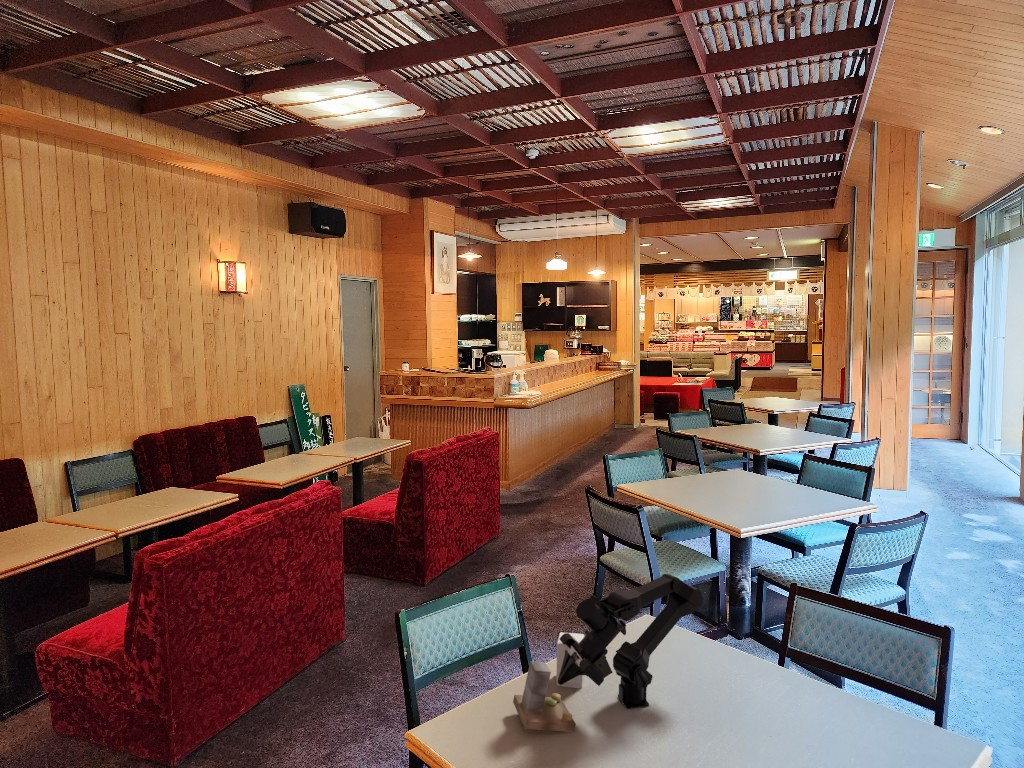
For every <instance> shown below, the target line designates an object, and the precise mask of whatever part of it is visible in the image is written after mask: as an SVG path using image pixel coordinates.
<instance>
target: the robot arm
mask: <svg viewBox="0 0 1024 768" xmlns="http://www.w3.org/2000/svg"><path fill="white" fill-rule="evenodd" d="M665 596H667V604H666V605H665V607H663V609H662V610H661V611H660V612H659V613H658V615H657V616H656V617H655V618H654V619H653V621H652V622H651V623H650V625H648V627H646V629H645V630H644V631H643V633H641V635H640V636H639V637H638V638H637V639H636V640H635V642H632V643H631V642H628V641H627V640H626V641H624V642H623V643H622V644H621V646H620V647H619V648H618V649H617V650H615V654H614V656H613V659H612V667H613V670H614V671H615V674H616V675H617V676H619V677H620V683H619V684H618V694H617V698H618V699H619V700H620V702H621V703H622V704H623V706H624V707H625V709H628V710H630V709H637V708H644V707H649V706H650V703H649V701H648V700H647V688H648V685H650V684H651V683H652V681H653V675H652V673H650V672H649V671H648V669H649V663H650V658H651V657H650V656H651V655H652V654H653V652H654V651H655V650H656V649H657V648H658V646H659V645H660V644H661V643H662V641H663V640H664V639H665V638H666V636H667V635H668V634H669V633H670V632H671V630H672V629H674V627H675V626H676V624H678V622H679V621H680V620H681V619H682V618H684V617H686V616H690V615H691V614H693V613H694V612H696V610H697V609H699V608H700V607H701V605H702V603H703V601H704V600H703V599H704V597H703V593H702V591H701V589H699V588H696V587H694V586H692V585H689V584H687V583H685V582H684V581H682V580H681V578H679V577H677V576H675V575H672V574H670V573H663V574H661V576H660V577H658V578H655V579H653V580H651V581H648V582H647V583H645V584H643V585H640V586H638V587H636V588H634V589H621V590H620V589H619V590H616V591H612V592H611V593H610V594H609V595H608V596H606V597H604V598H602V599H599V598H598V597H597V596H596V595H593V594H592V595H590V597H589V598H586V599H584V600H582V601H581V602H579V604H578V605H577V607H576V610H575V611H576V612H575V613H576V617H577V618H578V619H579V620H581V622H583V623H584V624H585V625H586V626H587V627H588V628H590V630H588V629H585V630H584V632H583V633H584V638H583V639H582V640H581V641H580V642H578V641H577V640H575V639H574V638H573V637H572V636H571V635H570V634H569V633H570V632H564V633H565V634H563V635H562V636H561V637H560V640H561V642H562V643H563V644H565V645H567V646H568V647H569V648H570V649H569V650H568V651H566V650H565V655H564V660H563V664H562V667H561V671H560V674H559V677H558V681H557V680H556V681H557V682H558V683H559V684H560V685H562V684H564V683H566V682H568V681H569V680H571V679H573V678H575V677H577V676H579V675H584V676H586V677H587V678H589V679H590V680H591V681H592V682H594V683H595V684H596V685H597V686H598V687H600V686H601V685H602V684H603V683H604V681H605V678H606V677H608V676H610V675H611V674H613V670H612V668H611V666H610V664H609V661H608V659H607V656H606V655H607V654H608V651H609V650H608V649H607V647H608V646H609V645H610V644H611V643H612V642H613V641H614V639H615V638H616V637H617V636H618V635H619V634H620V633H621V634H622V635H623V636H626V635H627V629H626V627H627V624H626V623H625V622H624V621H626V622H628V621H630V620H632V619H634V617H636V616H637V615H639V614H640V613H641V610H642V608H644V607H645V606H647V605H649V604H651V603H653V602H655V601H657V600H659V599H662V598H663V597H665Z"/></svg>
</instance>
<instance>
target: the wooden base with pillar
mask: <svg viewBox="0 0 1024 768" xmlns="http://www.w3.org/2000/svg"><path fill="white" fill-rule="evenodd" d="M527 671H528V672H527V675H526V679H525V680H526V681H525V686H524V689H523V694H514V696H513V701H512V703H513V705H514V707H515V709H516V712H517V714H518V716H519V718H520V721H521V723H522V725H523V728H524V729H525V730H539V731H553V732H554V731H555V732H567V733H568V732H569V733H570V732H571V733H574V732H575V730H576V726H577V724H576V722H575V720H574V718H573V715H572V713H570V712H569V709H568V708H567V707H566V705H565V703H564V701H563V699H562V696H561V694H559V693H555V692H553V693H552V694H551V696H547V693H548V692H547V691H548V688H549V682H550V679H551V674H552V673H551V672H552V671H551V670H550V668H549V666H548V665H547V663H546V662H545V661H538V660H537V661H536V660H530V661H529V666H528V670H527Z"/></svg>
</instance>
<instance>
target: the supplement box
mask: <svg viewBox="0 0 1024 768" xmlns="http://www.w3.org/2000/svg"><path fill="white" fill-rule="evenodd" d="M565 633H566V632H562V631H561V632H559V635H558V639H557V642H556V683H555V684H556V686H557V687H563V688H573V689H582V688H583V681H584V676H585V675H579V676H577V677H575V678H573V679H571V680H569V681H568V682H566V683H564V684H562V685H560V684H559V683H558V682H557V681H558V677H559V674H560V671H561V667H562V664H563V660H564V655H565V650H566V651H568V650H569V649H570V648H569V647H568V646H567V645H565V644H563V643H562V642H561V640H560V637H561V636H562V635H563V634H565ZM568 633H569V634H570V635H571V636H572V637H573V638H574V639H575V640H577V641H578V642H580V641H581V640H582V639H583V638H584V637H585V633H584V634H583V633H575V632H574V633H573V632H568Z"/></svg>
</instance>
